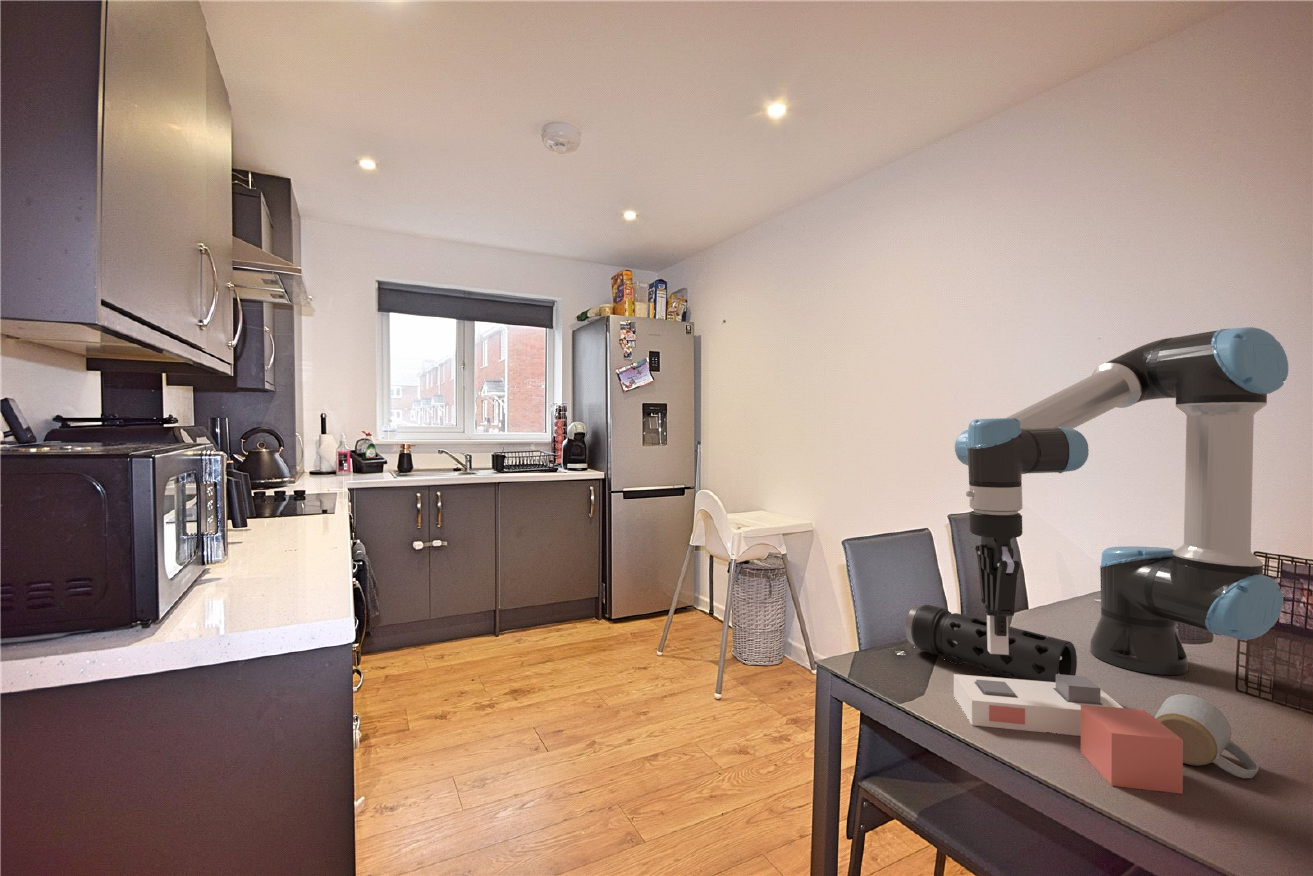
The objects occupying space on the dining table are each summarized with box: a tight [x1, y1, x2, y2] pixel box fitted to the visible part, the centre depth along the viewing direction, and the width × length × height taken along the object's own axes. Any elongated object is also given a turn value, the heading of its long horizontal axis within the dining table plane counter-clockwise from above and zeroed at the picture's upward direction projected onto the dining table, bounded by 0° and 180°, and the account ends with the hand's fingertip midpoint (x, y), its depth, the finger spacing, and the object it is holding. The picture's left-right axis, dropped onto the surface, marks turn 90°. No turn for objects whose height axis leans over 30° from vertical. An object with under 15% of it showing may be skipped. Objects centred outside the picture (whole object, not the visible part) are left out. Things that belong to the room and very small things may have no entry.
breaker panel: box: [953, 673, 1124, 737], centre depth 93 cm, size 22×10×4 cm, turn 77°
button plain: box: [1056, 674, 1101, 705], centre depth 92 cm, size 4×4×4 cm
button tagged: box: [976, 680, 1015, 697], centre depth 94 cm, size 4×4×4 cm
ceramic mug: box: [1154, 693, 1260, 779], centre depth 81 cm, size 11×8×8 cm
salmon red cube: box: [1080, 705, 1184, 795], centre depth 78 cm, size 8×8×7 cm
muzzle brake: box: [904, 604, 1078, 682], centre depth 111 cm, size 10×28×10 cm, turn 36°
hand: (998, 652), depth 94 cm, fingers closed
